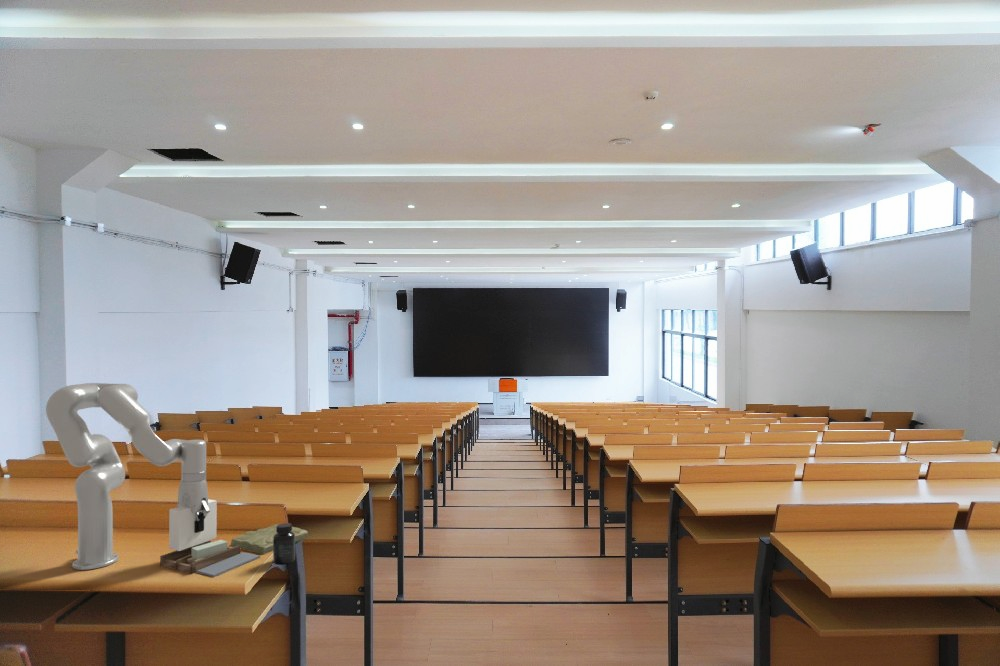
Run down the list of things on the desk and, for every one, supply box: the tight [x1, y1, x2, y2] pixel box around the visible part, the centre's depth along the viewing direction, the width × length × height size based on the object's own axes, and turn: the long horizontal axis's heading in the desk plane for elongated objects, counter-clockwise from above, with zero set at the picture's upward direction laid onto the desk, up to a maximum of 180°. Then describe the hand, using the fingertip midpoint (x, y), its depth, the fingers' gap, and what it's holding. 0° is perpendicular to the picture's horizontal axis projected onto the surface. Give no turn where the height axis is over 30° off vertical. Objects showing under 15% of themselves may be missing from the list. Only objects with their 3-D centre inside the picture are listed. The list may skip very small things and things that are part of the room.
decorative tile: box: [230, 523, 309, 555], centre depth 215 cm, size 19×20×4 cm
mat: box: [196, 551, 261, 578], centre depth 193 cm, size 8×18×1 cm, turn 154°
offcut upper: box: [192, 539, 228, 560], centre depth 196 cm, size 4×10×3 cm, turn 142°
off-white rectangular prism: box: [168, 498, 218, 551], centre depth 199 cm, size 5×14×13 cm, turn 154°
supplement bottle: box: [272, 522, 296, 566], centre depth 196 cm, size 7×7×12 cm
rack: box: [159, 540, 241, 574], centre depth 197 cm, size 16×18×3 cm
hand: (193, 529), depth 199 cm, fingers closed on off-white rectangular prism, 4 cm apart
